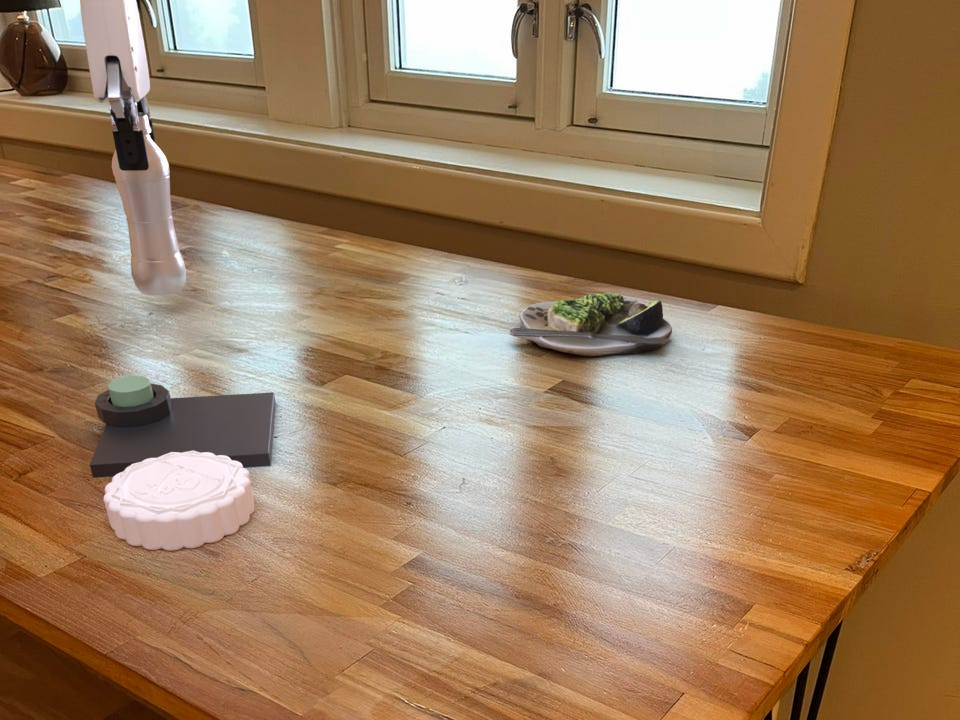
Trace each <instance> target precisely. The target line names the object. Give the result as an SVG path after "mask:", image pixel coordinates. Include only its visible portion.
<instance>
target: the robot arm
mask: <svg viewBox="0 0 960 720" xmlns="http://www.w3.org/2000/svg"><path fill="white" fill-rule="evenodd" d="M79 6H80V16H81V23H82V31H83V38H84V45H85V51H86V56H87V63H88V69H89V75H90V82H91V88H92V92H93V97H94V99H95V100H96V101H97V102H98V103H99V104H100V103H102V104H103V103H105V102H106V101H107V100H108V105H109V113H110V123H111V129H112V137H113V141H114V148H115V149H116V153H117V158H118V163H119V168H120V169H121V170H122V171H138V170H148V168H149V163H148V157H147V152H146V146H145V140H144V135H143V130H140V129H139V120H138V112H141V113H146V114H147V116H148V120H149V125H150V127H151V133H149V135H150V138H151V139H152V140H153V141H154V142H155V144H156V145H157V142H156V136H155V131H154V124H153V119H151V111H150V106H149V103H148V99H147V94H148V93H149V92H150V91H151V81H150V73H149V66H148V65H149V64H148V59H147V53H146V46H145V41H144V34H143V29H142V24H141V19H140V12H139V8H138V2H137V0H79ZM130 112H131V114H130Z"/></svg>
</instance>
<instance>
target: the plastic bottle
mask: <svg viewBox="0 0 960 720" xmlns="http://www.w3.org/2000/svg"><path fill="white" fill-rule="evenodd" d="M130 114H131V112H130ZM138 120H139V129H140V130H143V135H144V140H145V146H146V152H147V157H148V163H149V168H148V170H138V171H122V170H121V169H120V168H119V163H118V158H117V153H116V148H115V150H114V153H113V155H112V158H111V170H112V174H113V177H114V181H115V183H116V187H117V190H118V193H119V195H120V196H119V197H120V199H121V203H122V206H123V211H124V215H125V216H126V223H127V228H128V236H129V238H128V239H129V247H130V255H131V256H130V273H131V278H132V280H133V283H134V285H135V288H137V290H138V291H139V292H140V293H141V294H143V295H147V296H168V295H173V294H176V293H179V292H182V290H184V289H185V286H186V283H187V268H186V265H185V261H184V258H183V256H182V252H180V246H179V243H178V237H177V233H176V230H175V226H174V219H173V214H172V212H173V209H172V201H171V179H170V178H171V177H170V176H171V175H170V173H171V172H170V164H169V162H168V158H167V156H166V155H165V153H164V152H163V151H162V149H161V148H160V147H159V146H158V145H157V143H156V144H155V142H154V141H153V140H152V139H151V138H150V135H149V133H151V127H150V125H149V120H148V116H147V114H146V113H141V112H138Z"/></svg>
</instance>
